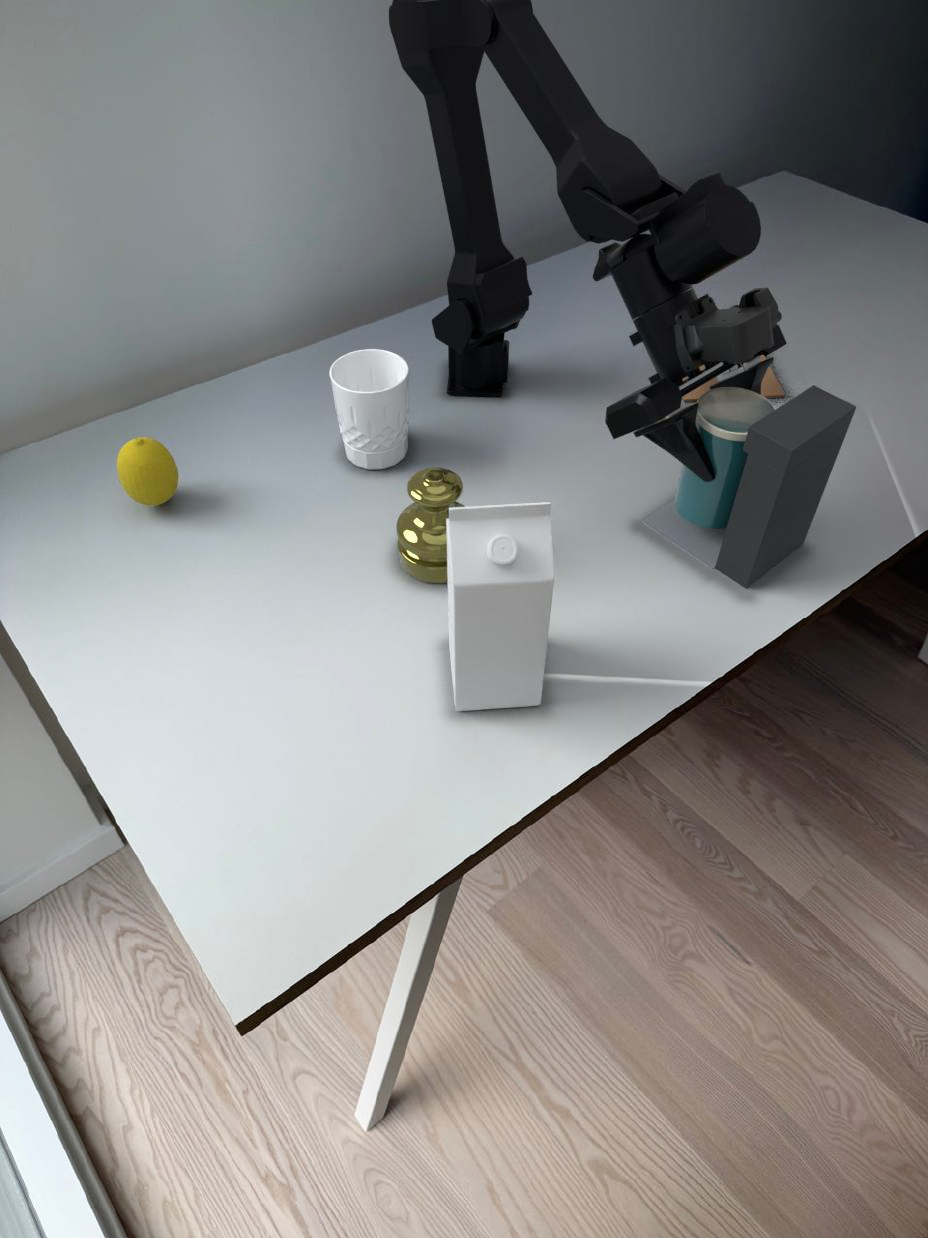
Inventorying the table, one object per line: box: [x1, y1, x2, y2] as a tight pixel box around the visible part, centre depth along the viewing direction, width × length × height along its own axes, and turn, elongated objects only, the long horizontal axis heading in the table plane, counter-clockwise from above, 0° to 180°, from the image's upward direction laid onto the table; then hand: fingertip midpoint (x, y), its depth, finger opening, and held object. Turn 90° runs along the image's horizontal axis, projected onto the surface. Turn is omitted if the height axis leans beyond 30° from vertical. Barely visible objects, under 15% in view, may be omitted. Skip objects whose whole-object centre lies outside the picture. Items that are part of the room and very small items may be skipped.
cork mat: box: [682, 355, 786, 403], centre depth 106 cm, size 12×12×1 cm
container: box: [673, 387, 777, 529], centre depth 82 cm, size 7×7×11 cm
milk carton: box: [446, 501, 555, 712], centre depth 69 cm, size 7×7×19 cm
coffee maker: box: [641, 385, 857, 589], centre depth 81 cm, size 12×10×16 cm
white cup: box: [328, 348, 410, 470], centre depth 93 cm, size 8×8×10 cm
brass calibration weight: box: [396, 466, 466, 584], centre depth 82 cm, size 7×7×10 cm
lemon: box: [116, 436, 179, 507], centre depth 88 cm, size 6×6×8 cm
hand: (735, 464), depth 81 cm, fingers closed on container, 7 cm apart
